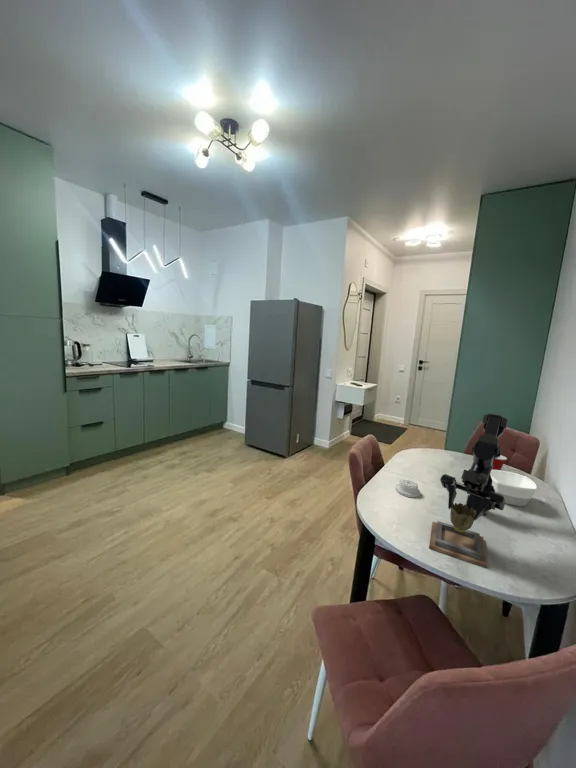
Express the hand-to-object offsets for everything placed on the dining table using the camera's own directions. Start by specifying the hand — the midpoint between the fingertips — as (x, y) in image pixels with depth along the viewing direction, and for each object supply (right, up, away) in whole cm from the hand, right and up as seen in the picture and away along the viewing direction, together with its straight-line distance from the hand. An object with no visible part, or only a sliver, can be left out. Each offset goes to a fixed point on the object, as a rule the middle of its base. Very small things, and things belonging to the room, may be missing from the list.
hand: (461, 513), depth 107 cm
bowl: (+40, -9, +39) cm, 56 cm away
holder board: (0, -11, +3) cm, 11 cm away
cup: (0, -7, +2) cm, 7 cm away
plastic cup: (+45, -5, +60) cm, 76 cm away
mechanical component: (-4, -5, +37) cm, 37 cm away
